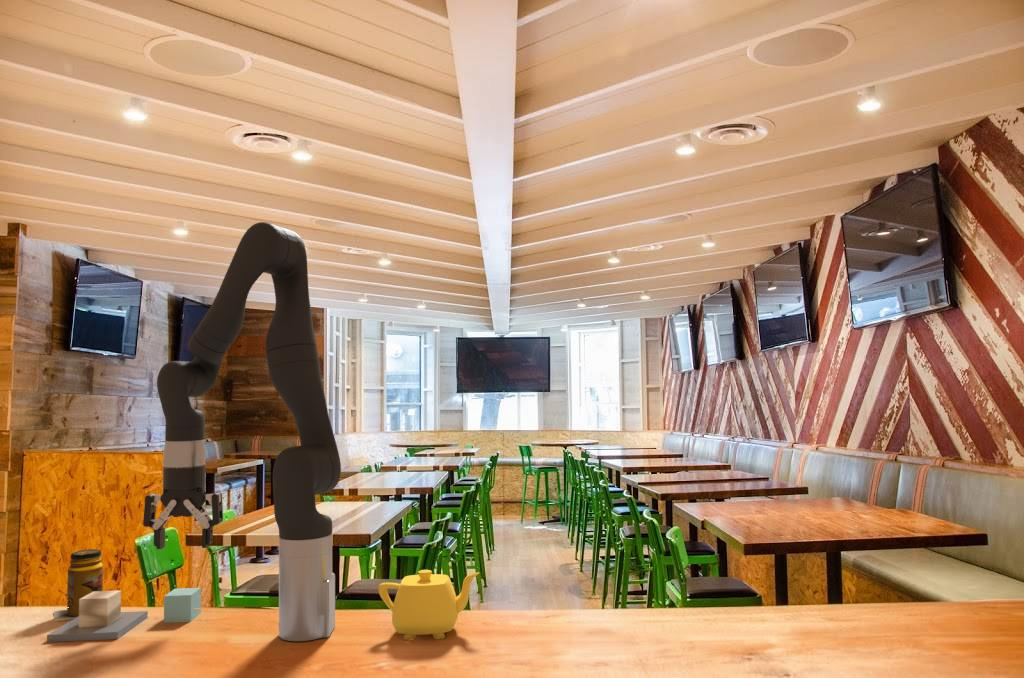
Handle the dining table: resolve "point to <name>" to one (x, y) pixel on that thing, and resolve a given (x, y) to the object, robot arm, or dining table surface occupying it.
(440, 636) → the teapot
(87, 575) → the condiment
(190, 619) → the block teal
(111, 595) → the block birch
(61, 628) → the plate
